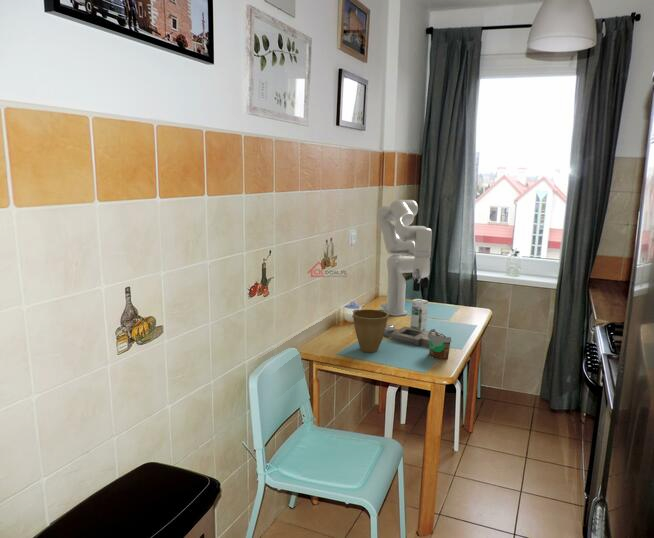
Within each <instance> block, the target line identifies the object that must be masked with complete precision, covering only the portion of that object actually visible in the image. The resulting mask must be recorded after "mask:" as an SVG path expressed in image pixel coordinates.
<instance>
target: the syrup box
mask: <svg viewBox="0 0 654 538" xmlns="http://www.w3.org/2000/svg"><path fill="white" fill-rule="evenodd" d="M428 302H429V301H428V300H425V299H422V298H421V299H420V298H414V299H413V300H411V309H410V310H411V313H410V325H409V327H410V328H415V329H419V330H423V329H424V330H427V317H428Z"/></svg>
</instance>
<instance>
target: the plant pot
mask: <svg viewBox="0 0 654 538" xmlns="http://www.w3.org/2000/svg"><path fill="white" fill-rule="evenodd" d="M352 317H353V324H354V330H355V334H356V335H355V336H356V339H357V342H358V345H359V349H360V351H362V352H365V353H376V352H377V351H379V348H380V346H381V343H382V341H383V339H384V337H385V336H384V332H385V329H386V325H388V318H389V315H388V314H387V313H386V312H384V310H378V309H368V308H367V309H359V310H358V309H357V310H355V311H353V312H352Z"/></svg>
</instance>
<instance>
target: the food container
mask: <svg viewBox="0 0 654 538" xmlns="http://www.w3.org/2000/svg"><path fill="white" fill-rule="evenodd" d="M427 337H428V338H429V349H428V350H429V351H428V352H429V353H428V354H429V355H430V356H431V358H432V357H433V358H432V359H435V360H441V361H442V360H443V361H444V360H445V361H446V360H449V355H450V354H449V353H450V348H451V347H450V346H451V343H452V336H446V335H445V334H443V333H440V332H437V331H436V328H433V329H432V328H431V329H429V333H428V336H427ZM430 356H429V357H430Z"/></svg>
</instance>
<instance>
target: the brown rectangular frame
mask: <svg viewBox="0 0 654 538" xmlns="http://www.w3.org/2000/svg"><path fill="white" fill-rule="evenodd" d="M429 331H430V330H429ZM429 331H428V330H425V329H424V330H419V329H415V328H410V326H406V325H405V326H403V327H401V328H398V330H397V331H395V332H393V333H391V337H395V338H400V339H404V340H408V341H413V342H417V343H419V342H420V345H419V346H424V347H429V338H428V337H427V336H428V333H429ZM407 332H409V333H413V334H418V335H417V336H411V335H407V334H405V333H407Z"/></svg>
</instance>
